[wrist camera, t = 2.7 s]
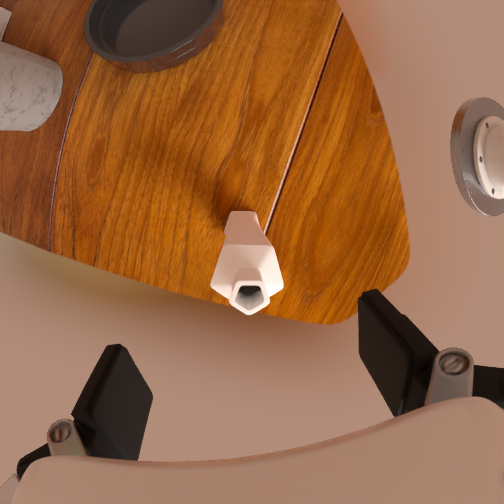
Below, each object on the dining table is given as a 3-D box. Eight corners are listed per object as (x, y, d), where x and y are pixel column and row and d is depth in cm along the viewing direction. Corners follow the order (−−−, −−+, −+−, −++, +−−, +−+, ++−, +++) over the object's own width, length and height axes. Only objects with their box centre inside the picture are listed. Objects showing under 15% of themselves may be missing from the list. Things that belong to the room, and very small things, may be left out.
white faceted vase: (248, 195, 28) (261, 237, 14) (272, 230, 29) (305, 301, 15) (210, 221, 28) (187, 285, 14) (235, 254, 30) (235, 342, 16)
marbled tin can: (57, 45, 20) (-4, 17, 8) (69, 103, 23) (-2, 89, 11) (7, 88, 20) (-55, 80, 9) (17, 145, 24) (-52, 152, 12)
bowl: (213, -35, 18) (211, -56, 14) (238, 53, 23) (238, 36, 19) (99, 2, 19) (83, -13, 14) (107, 93, 23) (88, 85, 19)
